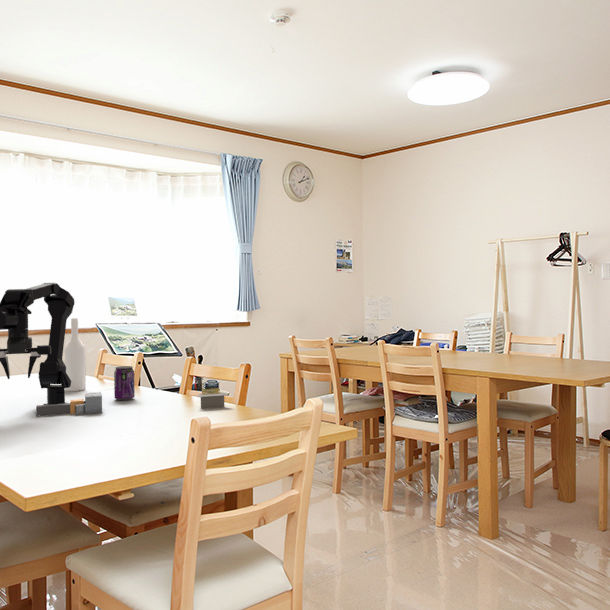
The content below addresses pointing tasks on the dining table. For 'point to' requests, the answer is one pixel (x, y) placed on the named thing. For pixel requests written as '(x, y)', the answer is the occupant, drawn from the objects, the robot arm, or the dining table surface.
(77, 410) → the housing
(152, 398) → the dining table surface
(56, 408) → the plug
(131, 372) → the beverage can
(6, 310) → the robot arm
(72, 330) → the bottle
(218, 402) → the platform
